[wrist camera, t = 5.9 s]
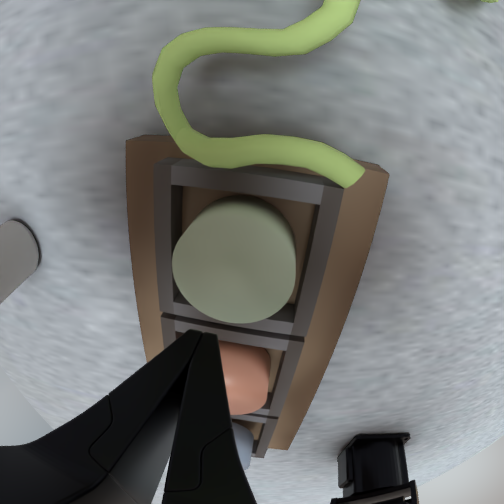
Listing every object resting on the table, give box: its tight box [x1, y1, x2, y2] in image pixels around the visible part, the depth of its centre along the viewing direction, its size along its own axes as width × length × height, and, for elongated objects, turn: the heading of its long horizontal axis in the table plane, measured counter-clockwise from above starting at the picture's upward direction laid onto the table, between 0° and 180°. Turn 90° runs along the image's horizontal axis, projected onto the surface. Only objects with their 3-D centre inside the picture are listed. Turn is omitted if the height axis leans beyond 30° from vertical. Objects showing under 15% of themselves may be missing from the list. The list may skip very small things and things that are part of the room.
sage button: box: [172, 195, 296, 323], centre depth 13 cm, size 5×5×2 cm
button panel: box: [126, 135, 389, 458], centre depth 19 cm, size 12×25×4 cm, turn 174°
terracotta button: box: [219, 340, 271, 415], centre depth 17 cm, size 5×5×2 cm
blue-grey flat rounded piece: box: [232, 422, 254, 470], centre depth 20 cm, size 5×5×2 cm
